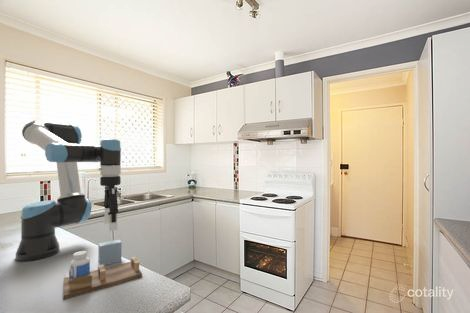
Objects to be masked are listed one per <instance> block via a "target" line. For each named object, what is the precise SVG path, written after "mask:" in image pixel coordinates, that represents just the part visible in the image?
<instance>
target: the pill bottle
mask: <svg viewBox="0 0 470 313" xmlns="http://www.w3.org/2000/svg"><path fill="white" fill-rule="evenodd" d="M90 260H91V259H90V258H89V257H88V251H87V250H79V251H77V252H74V253H73V254H72V260H71V261H70V269H71V279H72V278H76V277H80V276H84V275H88V274H90V272H91V266H90V265H91V264H90V263H91V262H90Z"/></svg>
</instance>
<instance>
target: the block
mask: <svg viewBox="0 0 470 313" xmlns="http://www.w3.org/2000/svg"><path fill="white" fill-rule="evenodd" d="M119 261H120V262H122V241H121V239H115V240H110V241H109V240H108V241H105V242H100V243H99V242H98V265H102V264H103V265H104V266H108V265H110V264H115V262H116V263H119Z"/></svg>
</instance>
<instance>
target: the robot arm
mask: <svg viewBox="0 0 470 313" xmlns="http://www.w3.org/2000/svg"><path fill="white" fill-rule="evenodd" d="M21 134H22V137H23V139H25V141H26V142H28V143H30V144H32V145H37V146H38V147H39V148H41V149H42V150H43V151H44V152H45V153H44V155H45V158H46V160H47V161H48V162H50V163H56V169H57V170H56V171H57V177H58V187H59V195H60V196H59V197H58V198H57V199H56V201H55V200H54V199H53V200H52V199H49V200H41V201H37V202H33V203H29V204H27V205H25V206H24V207H23V208H22V210H21V216H20V219H21V222H20V226H21V227H20V228H21V229H20V230H21V231H20V234H21V235H20V236H21V237H20V238H21V239H20V242H19V245H18V247H17V249H16V252H15V260H16V261H18V262H29V261H30V262H31V261H36V260H41V259H44V258H48V257H51V256H53V255H55V254H57V253H58V252H60V243H59V241H58V238H57V237H56V228H60V227H61V228H62V227H65V226H66V227H67V226H70V225H74V224H75V225H76V224H79V223H83V222H85V221H87V220H88V219H89V218H90V216H91V213H92V201H91V200H90V198H86V194H84V193H83V192H82V190H81V182H80V176H79V167H78V163H99V165H100V167H99V168H98V171H99V173H100V178H99V180H100V182H99V184H100V186H102V187H104V201H103V202H104V203H103V206H104V224H109V225H108V227H109V228H108V229H109V232H112V231H118V213H119V206H118V203H119V202H118V194H117V193H118V189H117V188H116V187H115V186H119V185H121V184H122V183H121V182H122V181H121V176H120V175H121V174H122V172H121V171H122V170H121V168H122V167H121V161H122V160H121V159H122V158H121V154H122V153H121V152H122V148H121V141H120V140H119V139H116V138H115V139H114V138H103V139H101V140H100V142H99V143H100V144H85V143H84V144H83V143H81V142H82V138H83V137H82V136H83V135H82V131H81V129H80V128H79V126H78V125H76V123H75V124H74V123H70V122H61V121H52V120H44V119H39V120H33V121H30V122H28V123H27V124H25V125H24V126H23V128H22V130H21Z"/></svg>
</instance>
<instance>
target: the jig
mask: <svg viewBox="0 0 470 313" xmlns="http://www.w3.org/2000/svg"><path fill="white" fill-rule="evenodd" d="M97 268H98V269H96V270H95V269H94V270H90V274H88V275H84V276H80V277H76V278H72V279H71V268H70V269H69V270H68V276H66V277H64V278H63V300H66V299H70V298H74V297H76V296H80V295H84V294H87V293H91V292H94V291H97V290H101V289H105V288H108V287H111V286H114V285H115V286H116V285H118V284H123V283H125V282H129V281H132V280H133V281H134V280H136V279H139V278H142V277H143V273H142V271H141V270H140V261H139V259H138V258H137V257H136V256H132V257H130V261H128V262H124V263H119V264H116V265H113V266H108V267H105V265H103V264H102V265H99V264H98V267H97Z"/></svg>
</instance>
